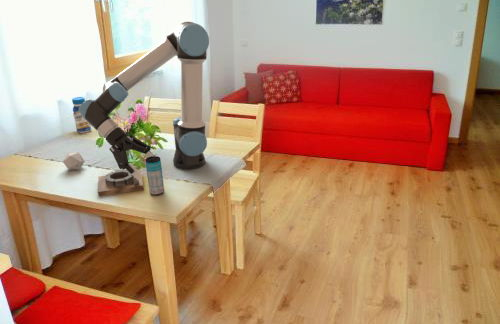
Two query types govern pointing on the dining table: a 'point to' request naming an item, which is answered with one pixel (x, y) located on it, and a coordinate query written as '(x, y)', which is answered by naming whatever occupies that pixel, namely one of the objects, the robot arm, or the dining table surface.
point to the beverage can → (154, 175)
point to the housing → (118, 183)
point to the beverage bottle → (80, 116)
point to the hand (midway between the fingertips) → (149, 171)
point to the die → (73, 161)
